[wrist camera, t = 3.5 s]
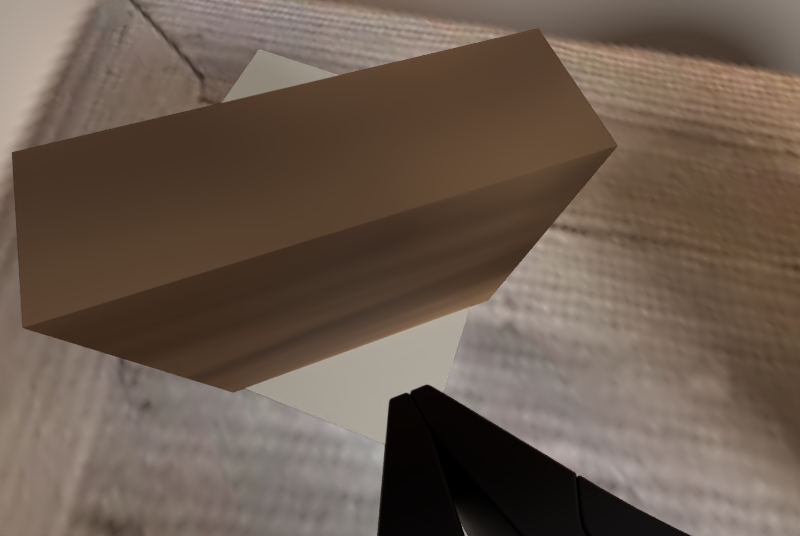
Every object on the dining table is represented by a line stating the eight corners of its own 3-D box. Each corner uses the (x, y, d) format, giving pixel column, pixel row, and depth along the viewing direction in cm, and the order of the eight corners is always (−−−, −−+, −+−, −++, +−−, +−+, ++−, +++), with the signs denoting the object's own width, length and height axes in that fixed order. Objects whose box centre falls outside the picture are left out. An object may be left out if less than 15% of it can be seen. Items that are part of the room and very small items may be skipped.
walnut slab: (488, 300, 16) (617, 145, 7) (233, 392, 14) (23, 327, 6) (456, 232, 17) (538, 27, 8) (214, 310, 15) (11, 151, 7)
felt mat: (519, 144, 19) (524, 135, 19) (420, 458, 14) (421, 459, 13) (262, 59, 20) (259, 48, 20) (81, 322, 15) (70, 318, 15)
